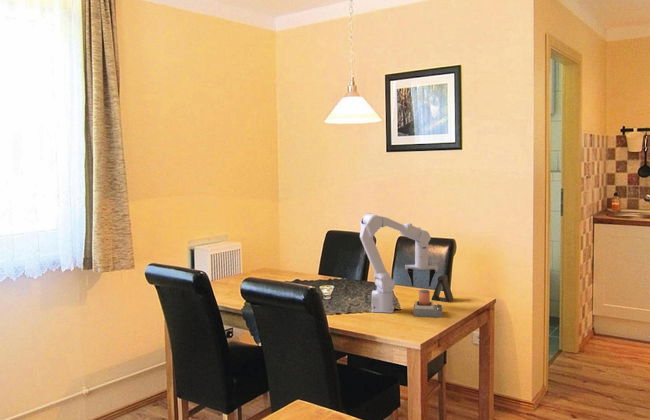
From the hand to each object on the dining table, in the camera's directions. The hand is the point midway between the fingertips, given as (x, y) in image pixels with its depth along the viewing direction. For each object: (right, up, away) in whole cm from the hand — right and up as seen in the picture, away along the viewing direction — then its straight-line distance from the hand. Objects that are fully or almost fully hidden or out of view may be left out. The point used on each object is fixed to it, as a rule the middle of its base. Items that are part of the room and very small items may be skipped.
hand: (421, 285), depth 255 cm
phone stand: (+12, -9, +13) cm, 20 cm away
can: (0, -8, -10) cm, 12 cm away
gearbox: (+1, -11, -10) cm, 15 cm away
